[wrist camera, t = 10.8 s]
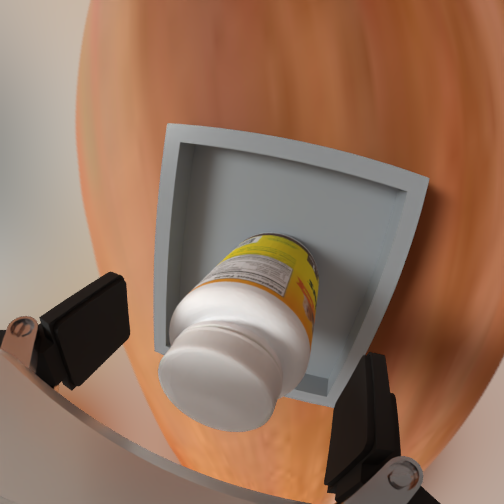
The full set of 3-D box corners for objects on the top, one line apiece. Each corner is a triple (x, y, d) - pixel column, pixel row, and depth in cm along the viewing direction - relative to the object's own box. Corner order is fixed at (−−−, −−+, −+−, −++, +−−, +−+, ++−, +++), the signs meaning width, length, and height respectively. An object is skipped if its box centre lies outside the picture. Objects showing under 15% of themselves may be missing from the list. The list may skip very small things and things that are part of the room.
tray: (188, 126, 16) (167, 123, 14) (415, 175, 14) (429, 178, 11) (170, 333, 22) (154, 351, 20) (336, 384, 20) (334, 408, 17)
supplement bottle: (303, 324, 18) (270, 460, 9) (223, 296, 19) (139, 406, 9) (333, 245, 16) (331, 367, 6) (241, 217, 17) (134, 294, 7)
